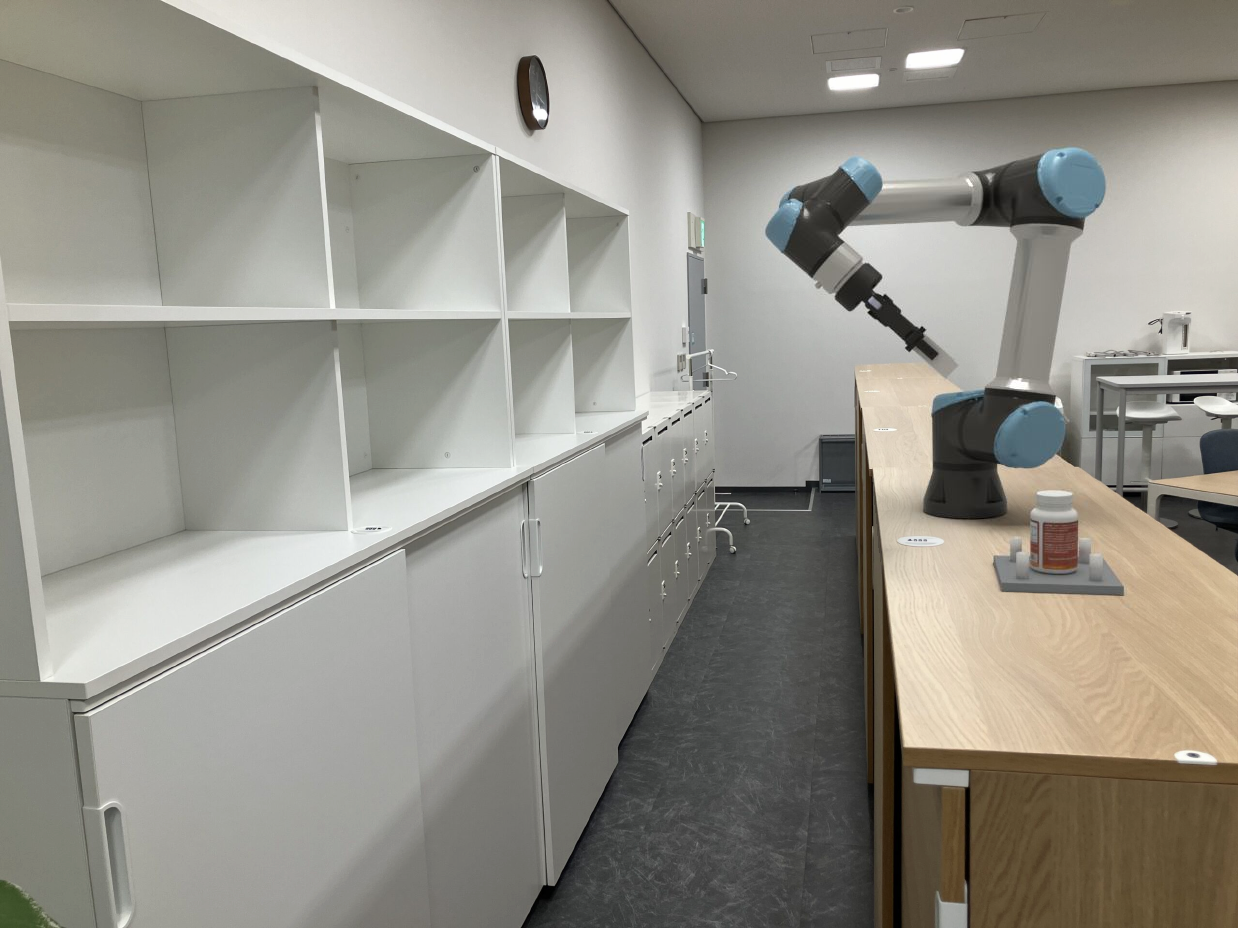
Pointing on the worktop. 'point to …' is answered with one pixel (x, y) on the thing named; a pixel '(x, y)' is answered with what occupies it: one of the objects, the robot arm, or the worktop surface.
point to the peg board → (1085, 580)
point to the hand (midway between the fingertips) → (950, 369)
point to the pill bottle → (1054, 533)
